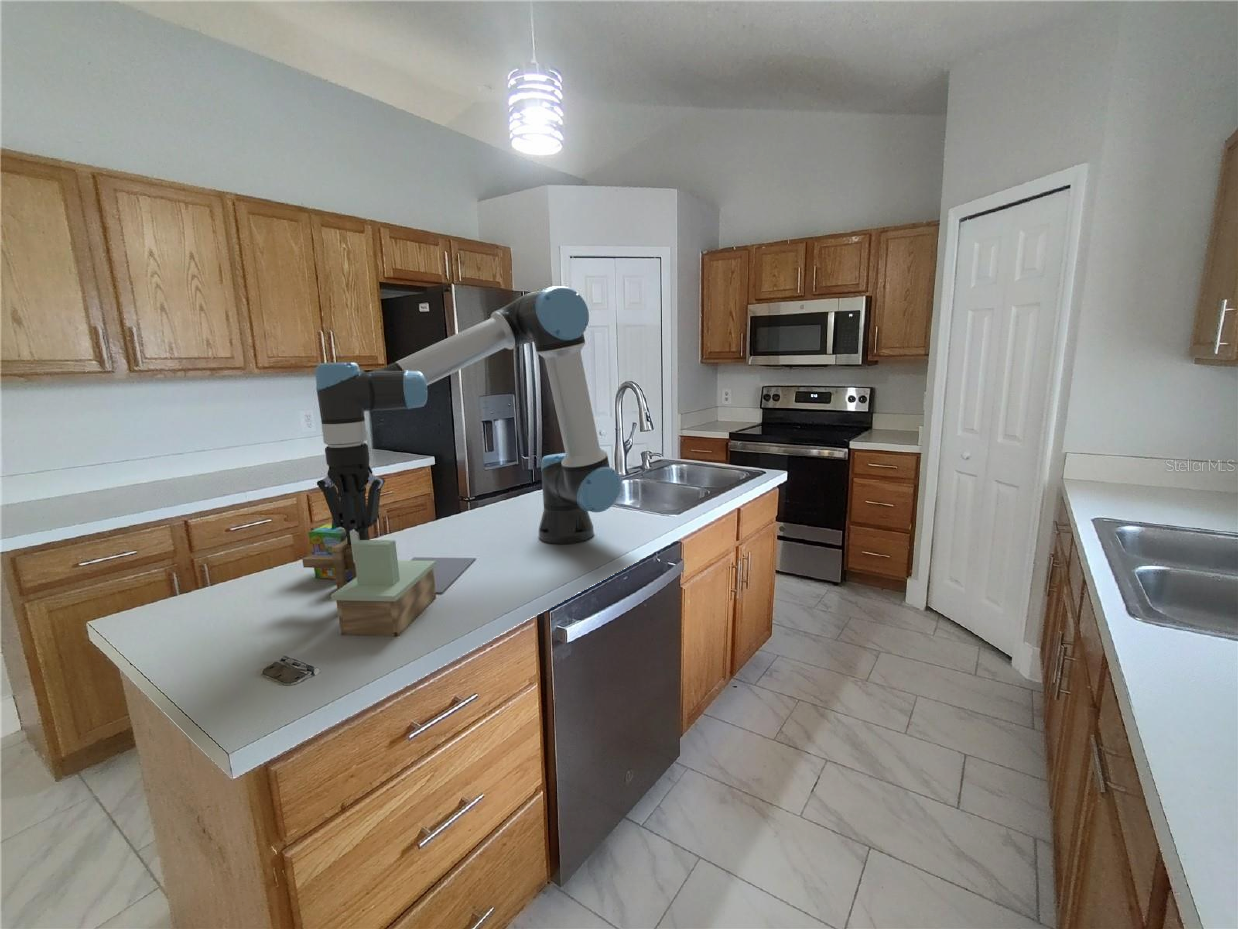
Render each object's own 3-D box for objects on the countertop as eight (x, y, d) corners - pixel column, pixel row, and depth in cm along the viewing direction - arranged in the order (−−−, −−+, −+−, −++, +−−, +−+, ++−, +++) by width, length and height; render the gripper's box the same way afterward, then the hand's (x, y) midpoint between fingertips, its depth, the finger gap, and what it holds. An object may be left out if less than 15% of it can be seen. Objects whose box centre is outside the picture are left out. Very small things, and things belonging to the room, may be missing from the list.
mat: (475, 559, 136) (475, 558, 136) (442, 593, 117) (442, 592, 117) (414, 558, 138) (414, 557, 138) (371, 592, 119) (370, 590, 119)
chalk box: (341, 564, 136) (333, 506, 133) (373, 566, 134) (366, 507, 131) (313, 578, 127) (304, 517, 125) (347, 581, 125) (339, 518, 122)
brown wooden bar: (355, 568, 110) (352, 550, 109) (303, 567, 111) (300, 549, 110) (361, 563, 112) (359, 545, 111) (311, 563, 113) (308, 545, 113)
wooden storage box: (398, 636, 99) (390, 566, 97) (311, 634, 101) (300, 565, 99) (436, 597, 115) (429, 536, 112) (360, 596, 117) (352, 536, 114)
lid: (395, 601, 98) (389, 553, 96) (331, 600, 99) (325, 552, 97) (436, 565, 114) (432, 523, 112) (381, 564, 115) (376, 523, 114)
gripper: (388, 440, 109) (400, 553, 114) (326, 441, 110) (341, 553, 115) (367, 446, 102) (381, 567, 106) (301, 447, 103) (318, 566, 108)
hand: (360, 560), depth 111 cm, fingers closed
